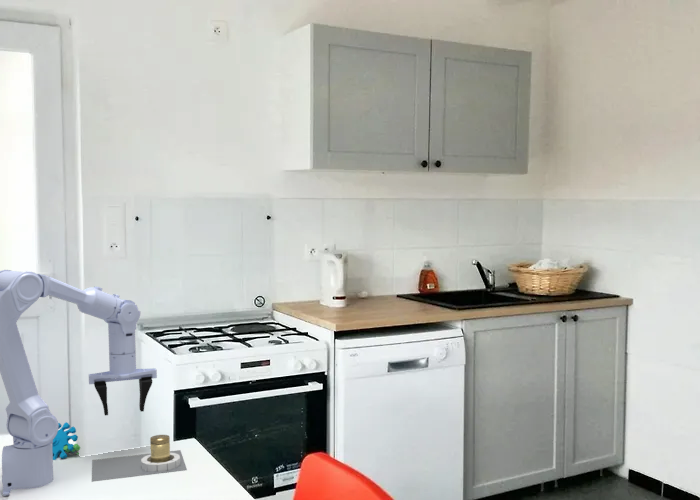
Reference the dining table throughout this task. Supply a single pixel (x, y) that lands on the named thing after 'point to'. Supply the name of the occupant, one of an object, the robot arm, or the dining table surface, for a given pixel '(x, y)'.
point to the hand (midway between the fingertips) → (124, 412)
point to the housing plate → (135, 466)
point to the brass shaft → (160, 448)
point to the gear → (64, 442)
